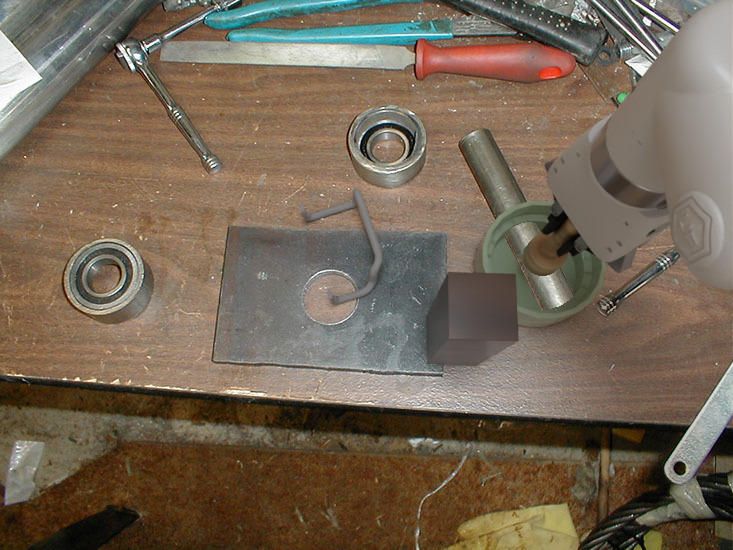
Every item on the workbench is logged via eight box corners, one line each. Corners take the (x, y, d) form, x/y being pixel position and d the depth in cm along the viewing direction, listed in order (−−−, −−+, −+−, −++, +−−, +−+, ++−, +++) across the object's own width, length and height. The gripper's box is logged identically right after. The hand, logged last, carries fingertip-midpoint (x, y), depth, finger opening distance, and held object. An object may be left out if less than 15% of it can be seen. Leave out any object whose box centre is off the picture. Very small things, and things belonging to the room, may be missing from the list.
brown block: (476, 366, 66) (518, 341, 47) (426, 364, 66) (448, 339, 47) (475, 317, 68) (515, 273, 49) (426, 315, 68) (447, 271, 49)
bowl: (591, 329, 67) (611, 320, 62) (474, 325, 68) (484, 316, 62) (582, 220, 71) (601, 202, 65) (472, 217, 71) (481, 199, 66)
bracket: (303, 217, 72) (296, 202, 67) (361, 198, 72) (357, 181, 67) (332, 308, 69) (327, 299, 64) (392, 287, 69) (391, 277, 64)
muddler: (560, 276, 64) (607, 241, 52) (522, 275, 64) (559, 240, 52) (558, 240, 65) (603, 197, 53) (521, 239, 65) (557, 196, 53)
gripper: (758, 223, 38) (636, 286, 56) (626, 50, 42) (550, 161, 60) (670, 273, 37) (574, 320, 55) (542, 92, 41) (491, 191, 59)
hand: (562, 237), depth 57 cm, fingers closed on muddler, 2 cm apart
